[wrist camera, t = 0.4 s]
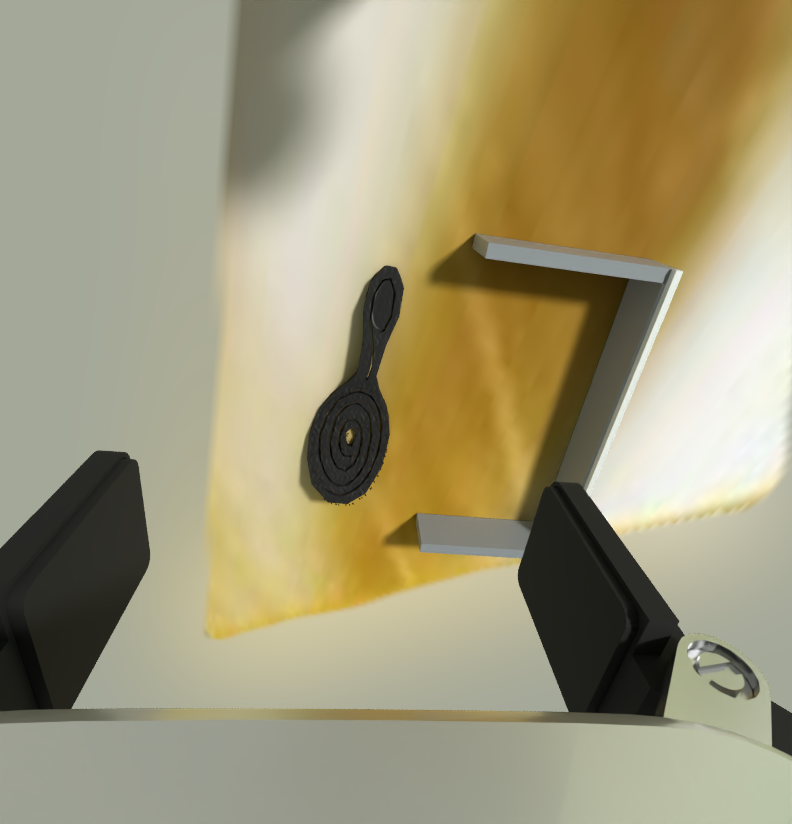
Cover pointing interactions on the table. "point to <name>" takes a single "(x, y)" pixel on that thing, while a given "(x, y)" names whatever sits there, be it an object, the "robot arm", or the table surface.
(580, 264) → the box
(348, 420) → the hairbrush
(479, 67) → the table surface
